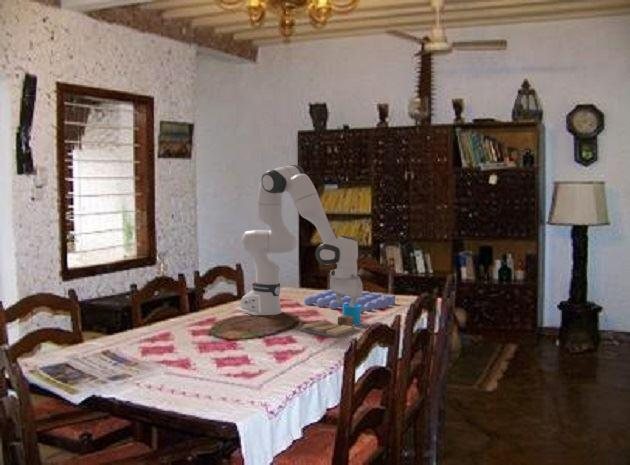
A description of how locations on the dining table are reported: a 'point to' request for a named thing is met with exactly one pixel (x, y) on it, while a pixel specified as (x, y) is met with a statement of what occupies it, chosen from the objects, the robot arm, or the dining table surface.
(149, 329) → the dining table surface
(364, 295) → the blue flat bumpy slab
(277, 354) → the dining table surface
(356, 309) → the mug
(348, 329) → the underlay
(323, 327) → the tan flat slab
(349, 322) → the block
